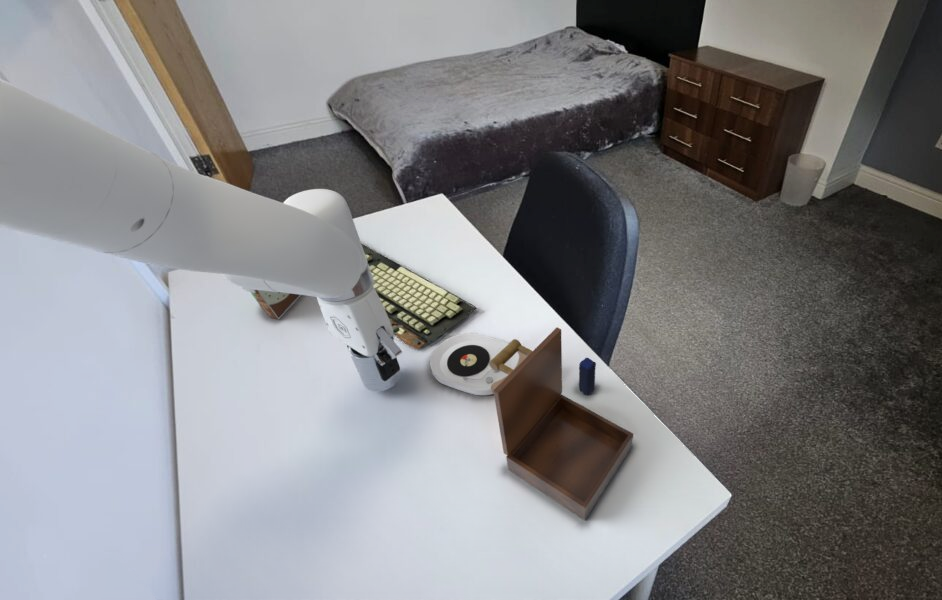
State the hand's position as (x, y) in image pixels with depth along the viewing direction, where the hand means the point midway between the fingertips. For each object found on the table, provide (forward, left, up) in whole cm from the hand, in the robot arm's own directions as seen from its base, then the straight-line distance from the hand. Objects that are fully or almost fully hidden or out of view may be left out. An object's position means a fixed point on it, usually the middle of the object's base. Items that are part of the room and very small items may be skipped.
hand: (377, 365), depth 76 cm
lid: (+6, -28, +6) cm, 29 cm away
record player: (+12, -12, -5) cm, 18 cm away
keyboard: (+16, +22, -5) cm, 28 cm away
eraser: (+18, -29, -5) cm, 34 cm away
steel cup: (0, 0, -3) cm, 3 cm away
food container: (+2, +34, -5) cm, 34 cm away
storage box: (+6, -34, -5) cm, 35 cm away
